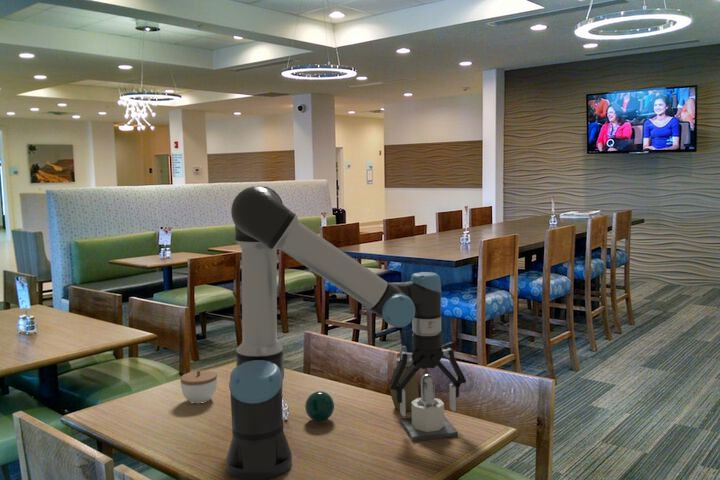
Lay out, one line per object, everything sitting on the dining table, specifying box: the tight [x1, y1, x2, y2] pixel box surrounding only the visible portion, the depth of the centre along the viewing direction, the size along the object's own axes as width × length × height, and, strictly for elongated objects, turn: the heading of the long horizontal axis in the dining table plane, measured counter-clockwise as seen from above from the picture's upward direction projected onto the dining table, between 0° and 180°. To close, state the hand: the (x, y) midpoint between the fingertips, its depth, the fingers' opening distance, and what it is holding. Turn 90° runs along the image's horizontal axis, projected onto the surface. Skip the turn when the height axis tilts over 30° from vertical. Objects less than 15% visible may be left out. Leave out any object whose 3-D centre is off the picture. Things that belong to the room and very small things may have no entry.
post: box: [399, 373, 459, 442], centre depth 155 cm, size 12×12×15 cm
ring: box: [410, 397, 445, 432], centre depth 156 cm, size 8×8×6 cm
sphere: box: [304, 390, 335, 422], centre depth 163 cm, size 8×8×8 cm
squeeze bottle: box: [390, 345, 420, 411], centre depth 170 cm, size 8×8×18 cm
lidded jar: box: [179, 369, 218, 403], centre depth 181 cm, size 11×11×9 cm
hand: (428, 411), depth 156 cm, fingers open, 13 cm apart
